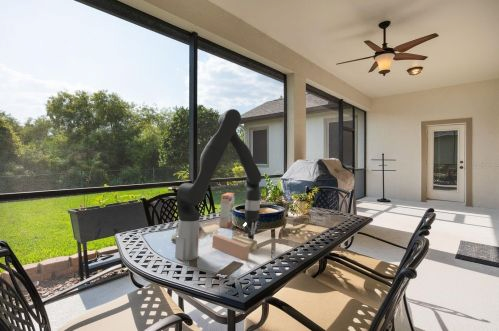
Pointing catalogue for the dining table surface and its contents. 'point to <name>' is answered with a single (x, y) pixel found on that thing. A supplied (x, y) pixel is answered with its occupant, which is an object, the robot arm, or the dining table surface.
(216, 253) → the dining table surface
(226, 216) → the cracker box
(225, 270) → the wooden plank
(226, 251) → the board
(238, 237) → the birch block
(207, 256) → the dining table surface
